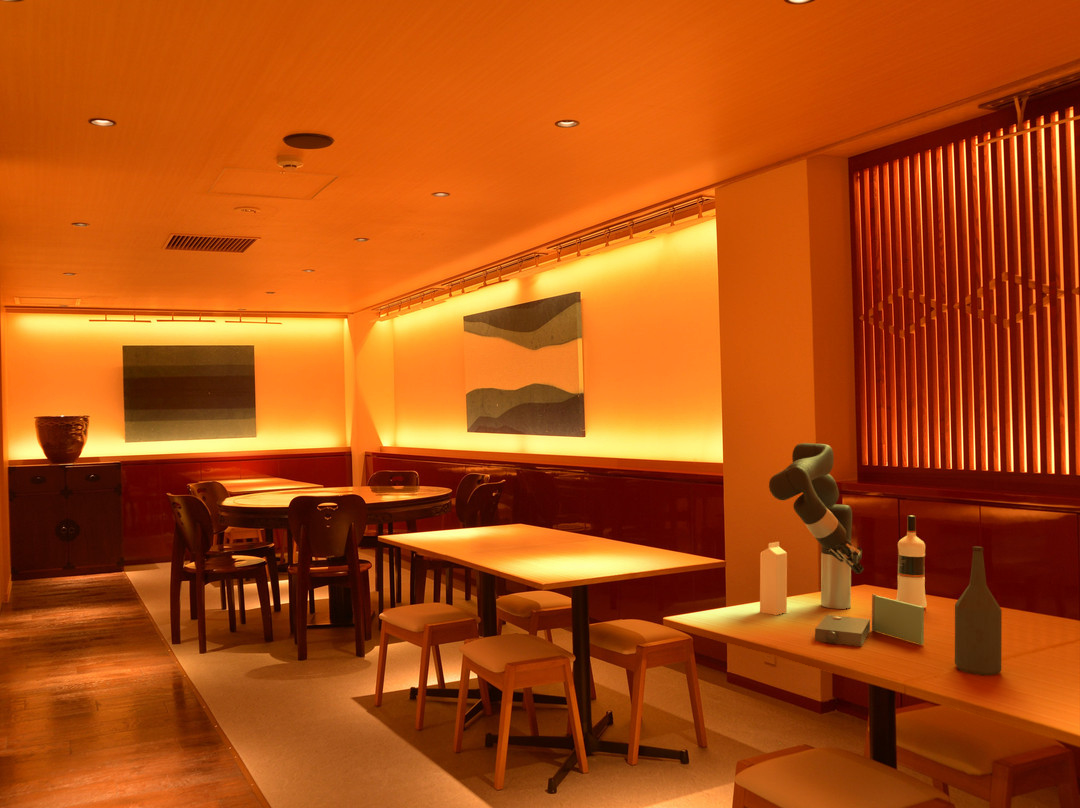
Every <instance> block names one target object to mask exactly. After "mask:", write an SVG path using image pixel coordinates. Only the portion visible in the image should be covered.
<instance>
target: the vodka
mask: <svg viewBox="0 0 1080 808" xmlns="http://www.w3.org/2000/svg"><path fill="white" fill-rule="evenodd" d="M906 518H907V519H906V520H907V521H906V522H907V526H906V527H907V528H906V529H907V530H906V535H905V536H904V537H902V538H901V539H899V541H898V542H897V558H898V559H897V592H896V598H895V600H897V601H901V602H905V603H909V604H913V605H917V606H921V607H926V608H927V604H928V602H927V599H926V589H925V585H926V584H925V582H926V578H925V556H926V543H925V542H924V540H922V539H921V538H919V537H918V536H917V523H916V522H917V520H916V519H917V517H916V516H915V515H907V517H906Z"/></svg>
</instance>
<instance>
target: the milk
mask: <svg viewBox="0 0 1080 808" xmlns="http://www.w3.org/2000/svg"><path fill="white" fill-rule="evenodd" d="M759 563H760V565H759V568H760V569H759V571H760V572H759V574H760V575H759V576H760V577H759V578H760V579H759V613H761V614H762V613H763V614H766V615H767V614H768V615H772V614H773V615H772V616H779V614H780V615H783V614H782V613H784V614H786V612H787V608H788V607H787V606H788V603H787V602H788V600H787V599H788V598H787V597H788V552H787V551H785V550H784V549H783V548H781V547H780V541H774V542H769V543H768V546H767V548H765V549H764V550H763V551H761V552H760V561H759Z"/></svg>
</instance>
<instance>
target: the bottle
mask: <svg viewBox="0 0 1080 808" xmlns="http://www.w3.org/2000/svg"><path fill="white" fill-rule="evenodd" d="M972 551H973V552H972V559H971V560H972V561H971V569H970V577H969V584H968V585H967V587H966V588H965V590H964V591H963V593H962V594H961V595H960V597H959V598H958V599H957V601H956V602H955V604H954V664H955V667H956V668H957V669H958V671H960V670H962V671H961V672H963V671H964V672H963V673H966V672H967V673H966V674H969V673H974V674H973V675H976V674H979V675H978V676H985V675H989V676H994V675H993V674H997V675H999V674H1000V673H1001V672H1002V643H1003V642H1002V635H1003V634H1002V631H1003V630H1002V629H1003V628H1002V618H1003V617H1002V616H1003V615H1002V614H1003V613H1002V608H1001V607H1000V605H999V603H998V601H997V600H996V599H995V597H994V596H993V594H992V592H991V590H990V589H989V587H988V585H987V579H986V577H987V576H986V568H985V567H986V566H985V559H984V547H983V546H972ZM998 673H999V674H998Z"/></svg>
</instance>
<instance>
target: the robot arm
mask: <svg viewBox="0 0 1080 808" xmlns="http://www.w3.org/2000/svg"><path fill="white" fill-rule="evenodd" d="M834 457H835V455H834V451H833V448H832V447H831V445H829V444H825V443H815V442H813V443H811V442H803V443H802V442H801V443H799V444H796V445H795V446H794V448H793V450H792V456H791V458H792V462H791V463H790V464H789V465H788V466H787V467H785V469H783V470H782V471H779V472H778V473H775V474H773V476H771V478H770V479H769V482H768V487H769V488H768V489H769V492H770V494H771V495H772V496H773V497H774V498H775V499H777V500H779V501H787V500H789V499H791V498H793V497H795V496H798V495H799V496H798V497H797V498H796V499H795V501H794V502H793V506H792V507H793V509H794V512H795V513H796V514H797V516H798V517H799V518H800V519H801V521H802V522H803V523H804V525H805V526H806V528H807V529H808V531H809V532H810V533H811V535H812V536H813V537H814V539H815V540H816V541H817V542H818V543H819V545H820V546H821V547H820V548H821V552H820V553H821V554H820V556H821V560H820V561H821V564H820V566H821V570H820V571H821V575H820V577H821V578H820V579H821V580H820V583H821V584H820V586H821V587H820V606H822V607H823V608H828V609H838V610H844V609H845V610H846V608H847V609H850V608H851V606H852V605H851V604H852V602H851V601H852V599H851V598H852V588H851V587H852V571H853V572H854V573H855V574H858V575H862V573H863V571H864V570H865V568H864V567H863V565H862V563H861V562H860V560H861V559H862V557H863V556H862V555H863V549H862V547H860V546H857V547H855V546H853V543H852V529H853V528H852V527H853V509H852V508H851V506H850V505H847V504H837V502H838V501H839V497H840V491H839V488H838V484H837V482H836V480H835V478H834V477H833V476H832V475H831V474H830V473H831V472H832V470H833V467H834V460H835V459H834ZM801 493H802V494H801ZM800 494H801V495H800Z"/></svg>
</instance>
